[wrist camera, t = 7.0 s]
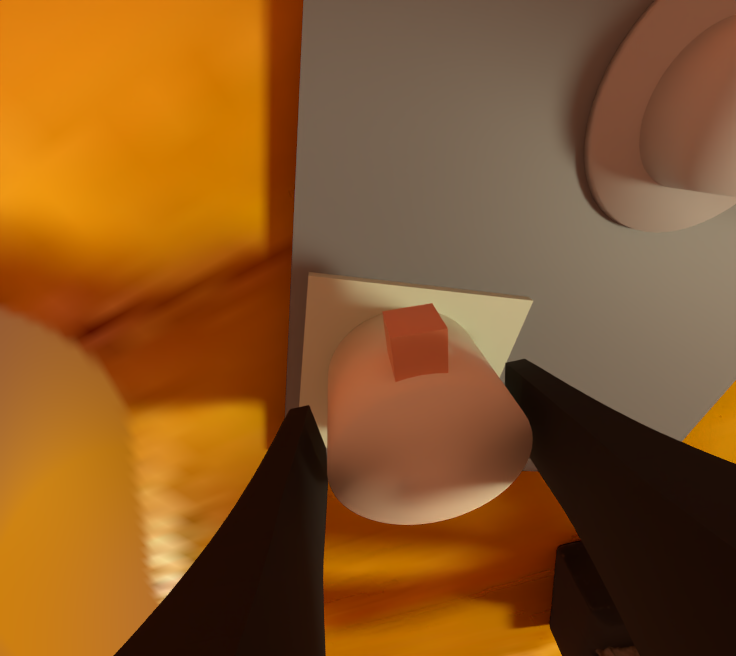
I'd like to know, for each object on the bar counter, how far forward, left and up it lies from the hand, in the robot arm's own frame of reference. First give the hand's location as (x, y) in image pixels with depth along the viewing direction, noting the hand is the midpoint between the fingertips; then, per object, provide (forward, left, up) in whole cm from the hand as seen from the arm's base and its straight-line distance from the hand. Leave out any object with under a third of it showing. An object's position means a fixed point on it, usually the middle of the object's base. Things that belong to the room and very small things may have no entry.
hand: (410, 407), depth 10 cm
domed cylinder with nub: (0, 0, -1) cm, 1 cm away
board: (-5, -3, -2) cm, 6 cm away
